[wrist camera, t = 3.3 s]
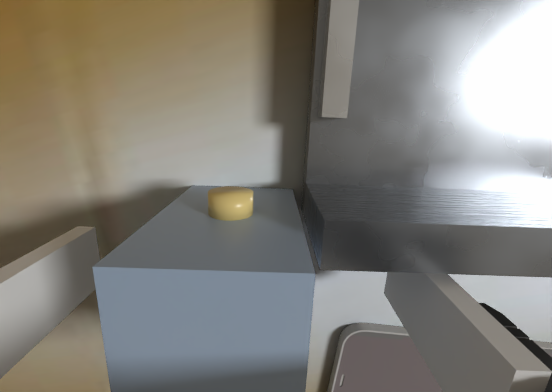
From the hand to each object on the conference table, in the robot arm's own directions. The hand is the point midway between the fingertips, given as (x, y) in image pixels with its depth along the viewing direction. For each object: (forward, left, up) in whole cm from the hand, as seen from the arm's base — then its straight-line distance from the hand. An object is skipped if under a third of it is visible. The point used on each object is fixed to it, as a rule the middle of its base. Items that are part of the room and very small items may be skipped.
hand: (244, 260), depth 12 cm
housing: (0, 0, -2) cm, 2 cm away
